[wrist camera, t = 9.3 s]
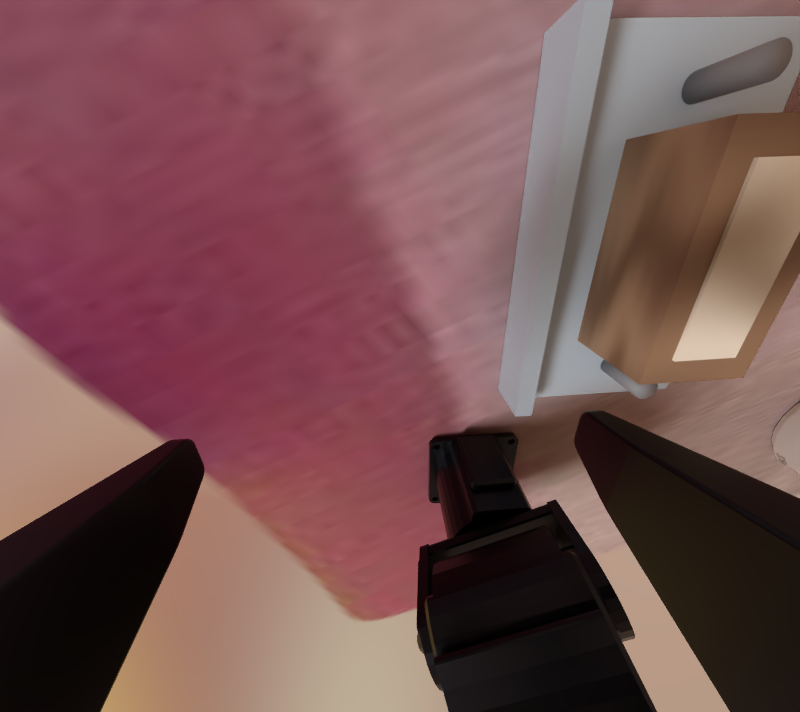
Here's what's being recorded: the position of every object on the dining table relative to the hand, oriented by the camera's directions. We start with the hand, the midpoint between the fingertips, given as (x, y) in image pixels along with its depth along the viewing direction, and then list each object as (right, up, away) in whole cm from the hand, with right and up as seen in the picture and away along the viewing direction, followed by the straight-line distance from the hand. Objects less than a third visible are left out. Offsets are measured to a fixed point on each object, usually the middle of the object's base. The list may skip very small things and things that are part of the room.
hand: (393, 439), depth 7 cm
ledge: (+13, +8, +10) cm, 18 cm away
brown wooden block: (+13, +7, +9) cm, 18 cm away
